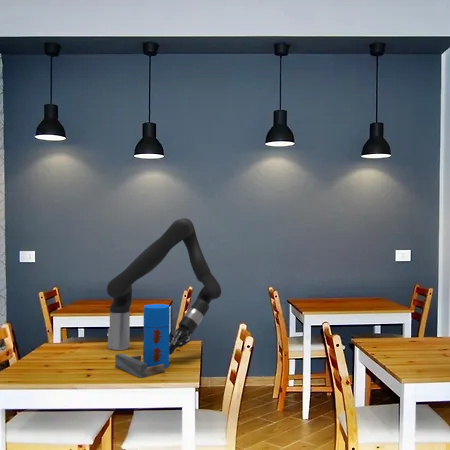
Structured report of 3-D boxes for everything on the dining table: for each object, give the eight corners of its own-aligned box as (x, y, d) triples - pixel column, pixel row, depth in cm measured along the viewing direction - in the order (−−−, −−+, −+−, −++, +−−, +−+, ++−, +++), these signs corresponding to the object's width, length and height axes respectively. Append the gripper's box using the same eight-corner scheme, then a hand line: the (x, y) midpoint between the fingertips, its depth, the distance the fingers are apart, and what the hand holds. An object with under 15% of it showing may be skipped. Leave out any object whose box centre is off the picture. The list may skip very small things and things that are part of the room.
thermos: (143, 370, 217) (144, 308, 216) (142, 362, 227) (142, 304, 227) (170, 368, 219) (171, 308, 219) (167, 361, 230) (168, 303, 229)
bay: (139, 362, 229) (139, 350, 228) (164, 372, 214) (164, 359, 214) (115, 366, 221) (115, 354, 221) (140, 377, 207) (140, 365, 207)
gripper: (177, 313, 238) (154, 345, 230) (195, 317, 228) (172, 351, 220) (186, 323, 241) (164, 355, 234) (205, 328, 232) (182, 361, 224)
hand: (168, 353), depth 227 cm, fingers closed
